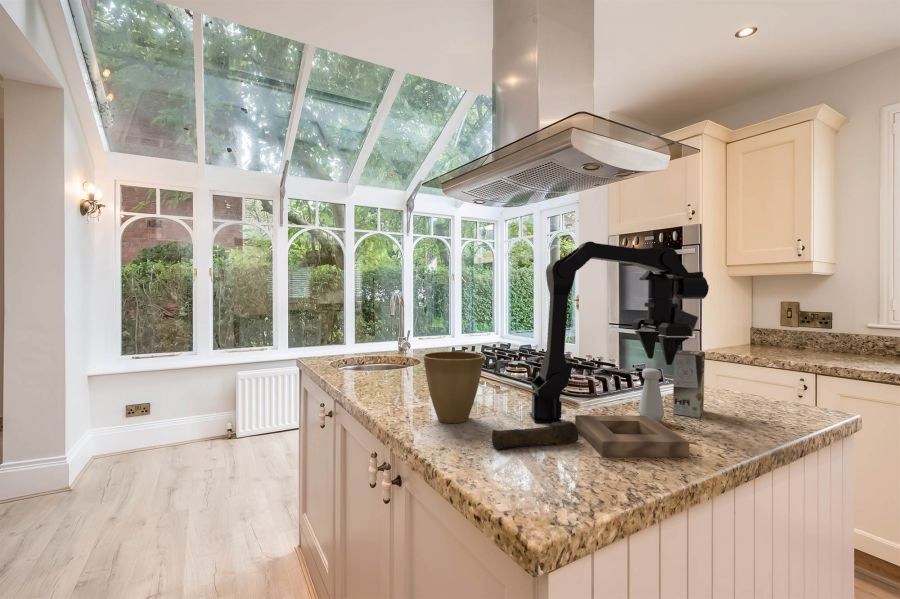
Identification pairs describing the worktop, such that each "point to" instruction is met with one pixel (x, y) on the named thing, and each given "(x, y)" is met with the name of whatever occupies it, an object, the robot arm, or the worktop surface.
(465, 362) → the plant pot
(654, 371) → the salt shaker
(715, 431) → the worktop surface
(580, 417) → the socket board
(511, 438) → the dark brown log
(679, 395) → the coffee box
